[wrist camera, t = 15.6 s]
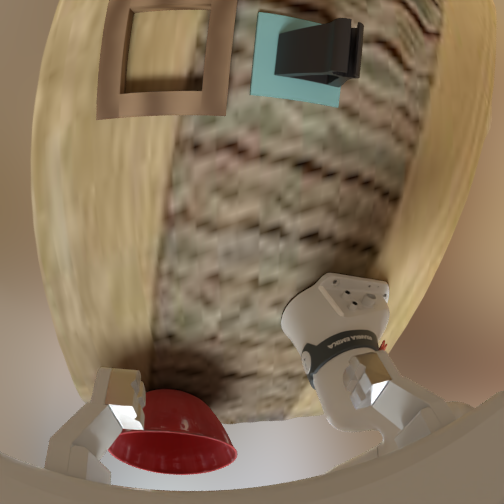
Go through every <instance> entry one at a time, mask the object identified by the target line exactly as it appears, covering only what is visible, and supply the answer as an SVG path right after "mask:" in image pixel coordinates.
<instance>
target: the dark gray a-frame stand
mask: <svg viewBox="0 0 504 504" xmlns="http://www.w3.org/2000/svg"><path fill="white" fill-rule="evenodd" d="M363 30H364V25H363V24H362V23H360V22H358V26H357V28H351V19H347V18H338V19H335V20H334V21H333V22H330V23H327V24H321V25H316V26H310V27H306V28H301V29H296V30H292V31H288V32H284V33H280V34H279V37H278V46H277V55H276V64H275V73H274V75H277V76H283V77H289V78H295V79H301V80H307V81H311V82H316V83H320V84H325V85H329V86H334V87H340V86H342V85H343V84H344V83H345V82H346V81H347V80H348V79H352V78H359V76H360V67H361V56H362V44H363Z"/></svg>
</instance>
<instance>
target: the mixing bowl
mask: <svg viewBox="0 0 504 504" xmlns="http://www.w3.org/2000/svg"><path fill="white" fill-rule="evenodd" d="M142 410H143V412H144V415H145V419H144V430H135V429H123V430H122V432H121V433H120V434H119V436H118V437H117V438H116V440H115V441H114V442H113V444H112V445H111V446H110V448H109V449H108V451H109V452H110V453H111V454H112V455H113V456H114V457H115V458H117V459H118V460H120V461H122V462H124V463H126V464H128V465H131V466H134V467H136V468H139V469H143V470H147V471H152V472H156V473H163V474H176V475H188V474H199V473H206V472H211V471H215V470H218V469H221V468H223V467H226V466H228V465H229V464H231V463H232V462H233V461H234V460H235V459H236V458H237V451H236V449H235V448H234V447H233V445H232V443H231V441H230V439H229V437H228V434H227V433H226V431H225V429H224V427H223V426H222V424H221V422H220V421H219V420H218V418H217V417H216V415H215V414H214V413H213V411H212V410H211V409H210V408H209V407H208V405H207V404H205V403H204V402H203V401H202V400H200V399H199V398H197V397H195V396H193V395H191V394H189V393H186V392H183V391H179V390H174V389H158V390H153V391H149V392H146V405H145V406H144V408H143V409H142Z"/></svg>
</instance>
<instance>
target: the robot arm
mask: <svg viewBox="0 0 504 504" xmlns="http://www.w3.org/2000/svg"><path fill="white" fill-rule="evenodd" d="M334 280H335V281H334ZM333 281H334V282H333ZM388 298H389V286H388V284H387V282H385V281H380V280H373V279H367V278H361V277H354V276H348V275H342V274H336V273H326V274H325V275H323V276H322V277H321V278H320V279H319V280H318V281H317V282H316V283H315V285H313V286H312V287H310V288H308V289H307V290H305V291H303V292H301V293H300V294H299V295H297V296H296V297H295V298H294V299H293V300H292V301H291V302H290V303H289V304H288V306H287V307H286V309H285V311H284V313H283V315H282V320H281V325H282V329H283V331H284V333H285V334H286V335H287V336H288V337H289V339H290V340H291V341H292V342H293V344H294V345H295V347H296V348H297V350H298V352H299V354H300V355H301V360H302V364H303V368H304V370H305V373H306V374H307V377H308V379H309V382H310V384H311V386H312V388H313V389H315V390H316V392H317V395H318V397H319V400H320V403H321V405H322V408H323V410H324V413H325V416H326V418H327V421H328V422H329V423H330V424H331V425H332V426H333V427H334V428H336V429H338V430H340V431H345V432H361V431H369V430H370V431H371V430H377V431H379V432H380V433H381V435H382V437H383V441H382V442H381V443H379V444H378V445H377V446H375V447H374V448H372V449H370V450H368V451H366V452H364V453H362V454H360V455H358V456H356V457H354V458H352V459H350V460H348V461H346V462H344V463H342V464H340V465H338V466H335V467H334V468H332V469H331V470H329V471H328V472H326V473H325V474H323V475H319V476H315V477H311V478H306V479H302V480H297V481H292V482H287V483H281V484H276V485H269V486H262V487H254V488H245V489H234V490H219V491H165V490H149V489H140V488H131V487H123V486H116V485H111V472H110V471H109V470H108V469H107V468H106V467H105V466H104V465H103V464H102V463H101V462H100V460H101V458H102V457H103V455H104V454H105V453H106V452H107V450H108V449H109V448H110V446H111V445H112V444H113V442H114V441H115V440H116V438H117V437H118V436H119V434H120V433H121V432H122V430H123V429H135V430H144V419H145V415H144V412H143V410H142V409H143V408H144V406H145V405H146V391H145V386H144V383H143V382H142V381H141V374H140V371H139V370H129V369H117V368H107V367H100V368H99V370H98V372H97V376H96V380H95V384H94V389H93V393H92V398H91V402H90V403H89V402H87V403H86V404H85V405H84V406H83V407H82V408H81V409H80V410H78V412H76V413H75V414H74V416H72V417H71V418H70V419H69V420H68V421H67V422H66V423H65V424H64V425H63V426H62V427H61V428H60V429H59V430H58V431H57V432H56V433H55V434H54V435H53V436H52V437H51V438H50V441H49V445H48V451H47V456H46V461H45V467H44V468H41V467H38V466H35V465H32V464H29V463H27V462H24V461H21V460H19V459H16V458H14V457H11V456H9V455H7V454H4V453H2V452H0V504H504V391H501V392H498V393H496V394H495V395H493V396H492V397H491V398H489V399H488V400H486V401H485V402H484V403H482V404H481V405H479V406H478V407H476V408H473V407H472V406H470V405H468V404H466V403H462V402H453V401H452V402H445V400H444V399H443V398H441V397H440V396H438V395H436V394H434V393H433V392H431V391H429V390H427V389H426V388H424V387H422V386H421V385H419V384H417V383H415V382H414V381H412V380H410V379H408V378H407V377H402V376H401V374H400V373H399V371H398V369H397V368H396V366H395V365H394V363H393V361H392V360H391V358H390V357H389V356H388V354H387V352H386V351H385V348H386V346H387V344H386V345H385V346H384V344H385V340H384V341H383V342H382V344H381V346H380V348H379V347H378V342H379V340H380V338H381V337H382V335H383V333H384V331H385V329H386V326H387V324H388V320H389V307H388V305H387V302H388ZM383 347H384V348H383Z"/></svg>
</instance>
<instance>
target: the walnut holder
mask: <svg viewBox="0 0 504 504" xmlns="http://www.w3.org/2000/svg"><path fill="white" fill-rule="evenodd" d="M236 7H237V0H109V3H108V8H107V13H106V19H105V25H104V31H103V38H102V45H101V54H100V63H99V74H98V89H97V118H96V120H102V119H112V118H123V117H137V116H159V115H214V116H226V106H227V94H228V83H229V72H230V62H231V52H232V42H233V33H234V24H235V16H236ZM161 10H211V11H210V19H209V27H208V35H207V44H206V53H205V63H204V74H203V85H202V91H159V92H140V93H127V94H125V85H126V71H127V61H128V51H129V43H130V35H131V28H132V21H133V15H134V13H138V12H148V11H161Z"/></svg>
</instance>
